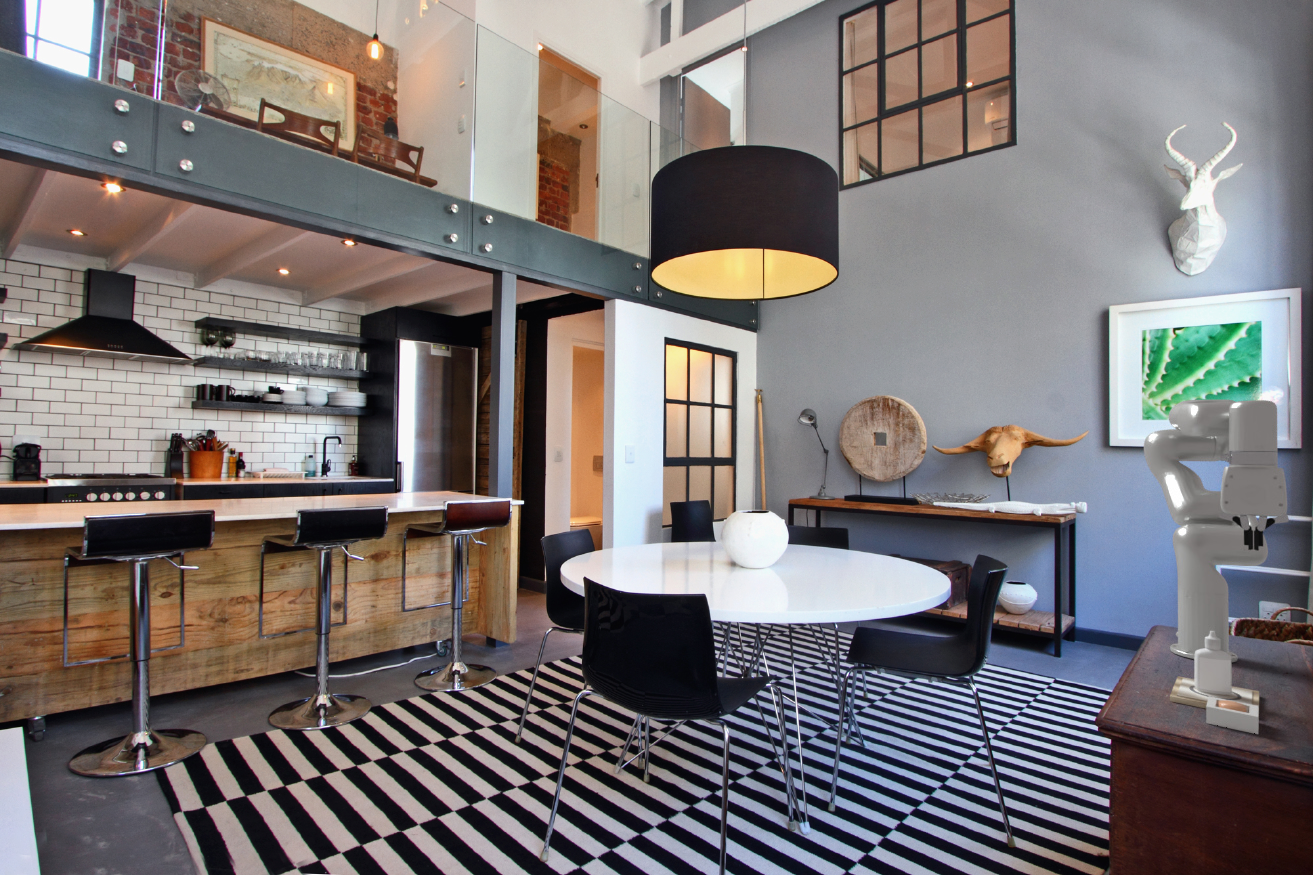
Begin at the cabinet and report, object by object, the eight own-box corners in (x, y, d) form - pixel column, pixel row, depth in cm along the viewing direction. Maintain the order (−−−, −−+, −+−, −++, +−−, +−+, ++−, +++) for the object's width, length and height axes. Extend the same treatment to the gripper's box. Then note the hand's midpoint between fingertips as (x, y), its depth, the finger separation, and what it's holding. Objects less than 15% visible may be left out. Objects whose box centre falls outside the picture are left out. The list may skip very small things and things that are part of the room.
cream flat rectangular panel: (1177, 680, 144) (1177, 674, 144) (1259, 696, 135) (1259, 689, 135) (1169, 701, 132) (1169, 694, 132) (1258, 719, 123) (1258, 712, 124)
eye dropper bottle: (1228, 698, 130) (1227, 636, 131) (1192, 690, 135) (1191, 629, 135) (1233, 693, 133) (1233, 632, 133) (1198, 685, 138) (1197, 626, 138)
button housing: (1208, 712, 127) (1208, 696, 127) (1258, 722, 122) (1258, 705, 122) (1206, 723, 121) (1206, 706, 122) (1258, 734, 117) (1258, 716, 117)
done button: (1219, 711, 124) (1219, 698, 124) (1246, 716, 122) (1246, 703, 122) (1218, 717, 122) (1218, 704, 122) (1246, 722, 119) (1246, 709, 119)
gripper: (1205, 459, 141) (1205, 547, 141) (1303, 461, 131) (1304, 555, 131) (1207, 459, 147) (1207, 544, 146) (1302, 461, 137) (1303, 551, 136)
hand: (1253, 549), depth 139 cm, fingers closed
